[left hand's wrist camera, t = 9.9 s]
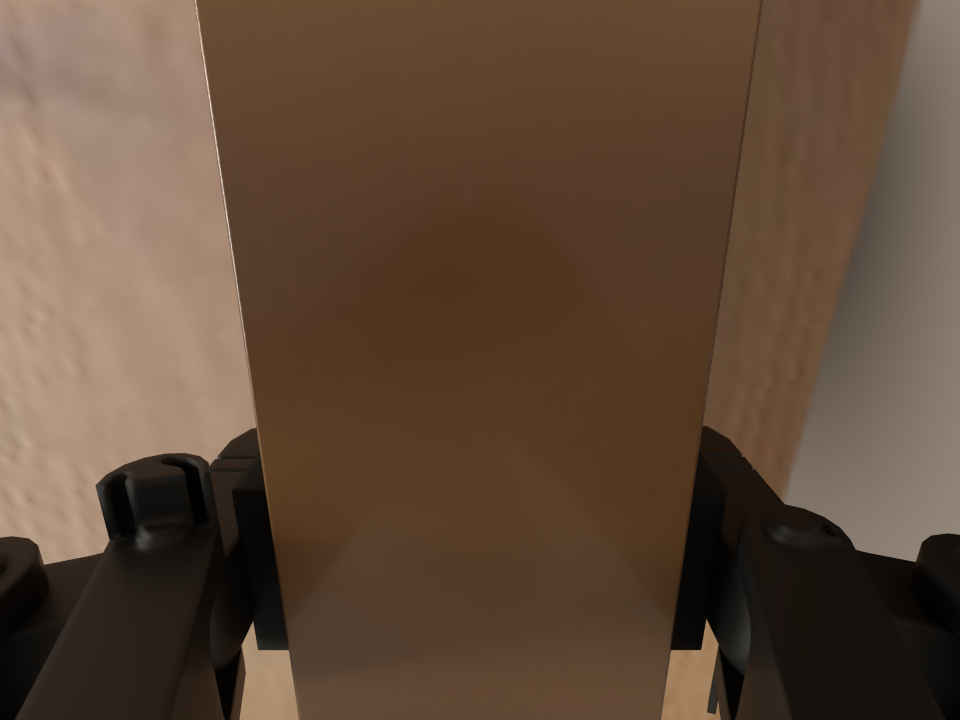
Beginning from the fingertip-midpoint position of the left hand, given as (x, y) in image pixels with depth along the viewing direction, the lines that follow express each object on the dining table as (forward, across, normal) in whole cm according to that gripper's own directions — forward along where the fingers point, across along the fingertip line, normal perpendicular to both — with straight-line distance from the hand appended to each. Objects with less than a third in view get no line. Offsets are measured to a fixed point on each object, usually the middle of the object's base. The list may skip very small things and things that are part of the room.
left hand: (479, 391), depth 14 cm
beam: (+1, 0, -21) cm, 21 cm away
